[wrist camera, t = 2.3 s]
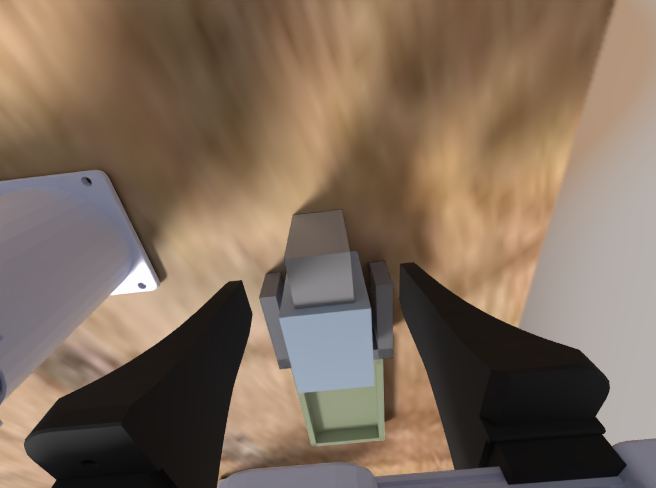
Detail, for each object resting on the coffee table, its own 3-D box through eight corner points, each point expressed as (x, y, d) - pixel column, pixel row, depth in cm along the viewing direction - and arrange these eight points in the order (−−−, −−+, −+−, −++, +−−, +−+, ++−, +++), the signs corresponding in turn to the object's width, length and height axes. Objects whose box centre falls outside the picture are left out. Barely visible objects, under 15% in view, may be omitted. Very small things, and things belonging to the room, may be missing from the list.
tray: (311, 430, 28) (311, 446, 27) (292, 351, 23) (291, 367, 22) (381, 423, 28) (384, 440, 27) (379, 343, 23) (382, 358, 21)
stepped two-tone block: (302, 324, 22) (298, 393, 17) (280, 216, 17) (265, 266, 12) (361, 318, 21) (374, 385, 17) (354, 208, 17) (368, 256, 12)
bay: (283, 341, 22) (279, 369, 20) (265, 273, 19) (259, 297, 17) (385, 331, 22) (392, 357, 20) (384, 260, 19) (393, 283, 17)
